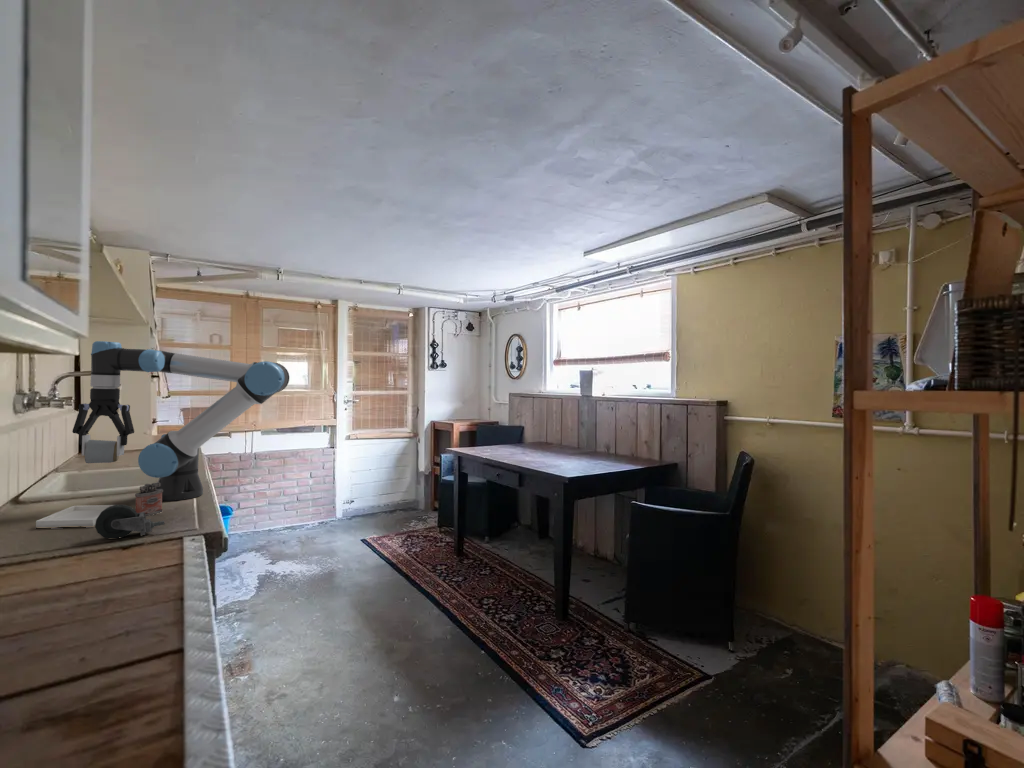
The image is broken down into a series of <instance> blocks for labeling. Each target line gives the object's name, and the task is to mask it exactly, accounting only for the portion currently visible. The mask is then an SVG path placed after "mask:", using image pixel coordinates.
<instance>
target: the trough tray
mask: <svg viewBox="0 0 1024 768" xmlns="http://www.w3.org/2000/svg"><path fill="white" fill-rule="evenodd" d="M113 505H114V504H101V505H99V504H98V505H96V504H95V505H93V504H92V505H91V504H90V505H88V504H87V505H72V506H70V507H67V508H64V509H62V510H59V511H57V512H53V513H52V514H49V515H48V516H44V517H43V518H40V519H37V520H36V521H35V528H36V527H58V526H59V527H61V526H94V525H95V524H96V519H97V518H98V516H99V515H100V513H101V512H102V511H103V510H105V509H106V508H108V507H110V506H113ZM94 527H95V526H94Z"/></svg>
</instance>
